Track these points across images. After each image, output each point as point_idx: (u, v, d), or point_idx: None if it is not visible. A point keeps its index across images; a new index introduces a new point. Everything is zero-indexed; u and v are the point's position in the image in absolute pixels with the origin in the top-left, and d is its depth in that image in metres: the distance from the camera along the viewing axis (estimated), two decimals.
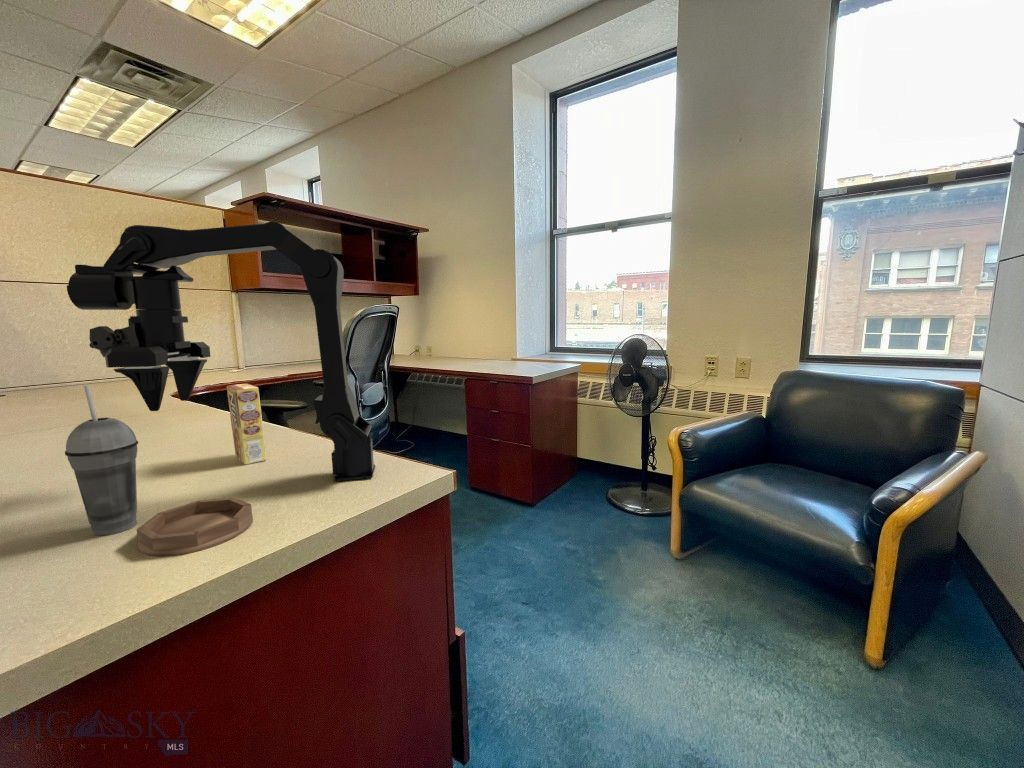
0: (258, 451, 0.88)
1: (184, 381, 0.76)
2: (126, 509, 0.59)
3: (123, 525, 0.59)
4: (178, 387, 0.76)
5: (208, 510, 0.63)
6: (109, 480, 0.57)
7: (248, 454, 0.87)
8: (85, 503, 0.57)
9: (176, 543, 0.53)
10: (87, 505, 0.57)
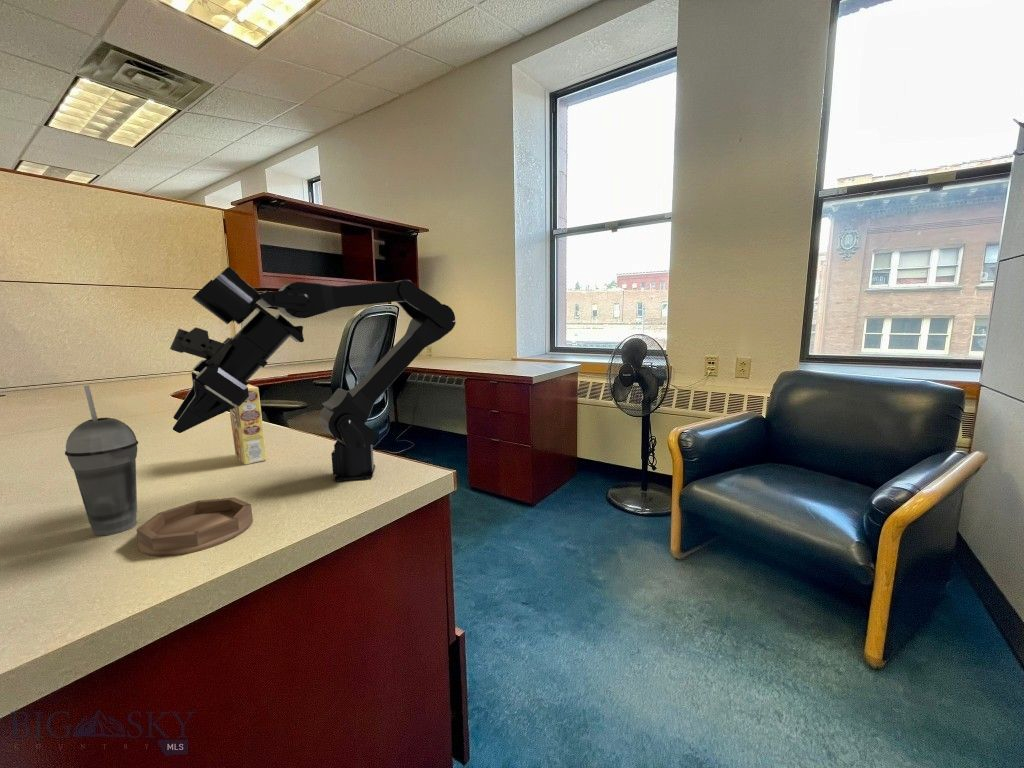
0: (258, 451, 0.88)
1: None
2: (126, 509, 0.59)
3: (123, 525, 0.59)
4: (184, 405, 0.67)
5: (208, 510, 0.63)
6: (109, 480, 0.57)
7: (248, 454, 0.87)
8: (85, 503, 0.57)
9: (176, 543, 0.53)
10: (87, 505, 0.57)
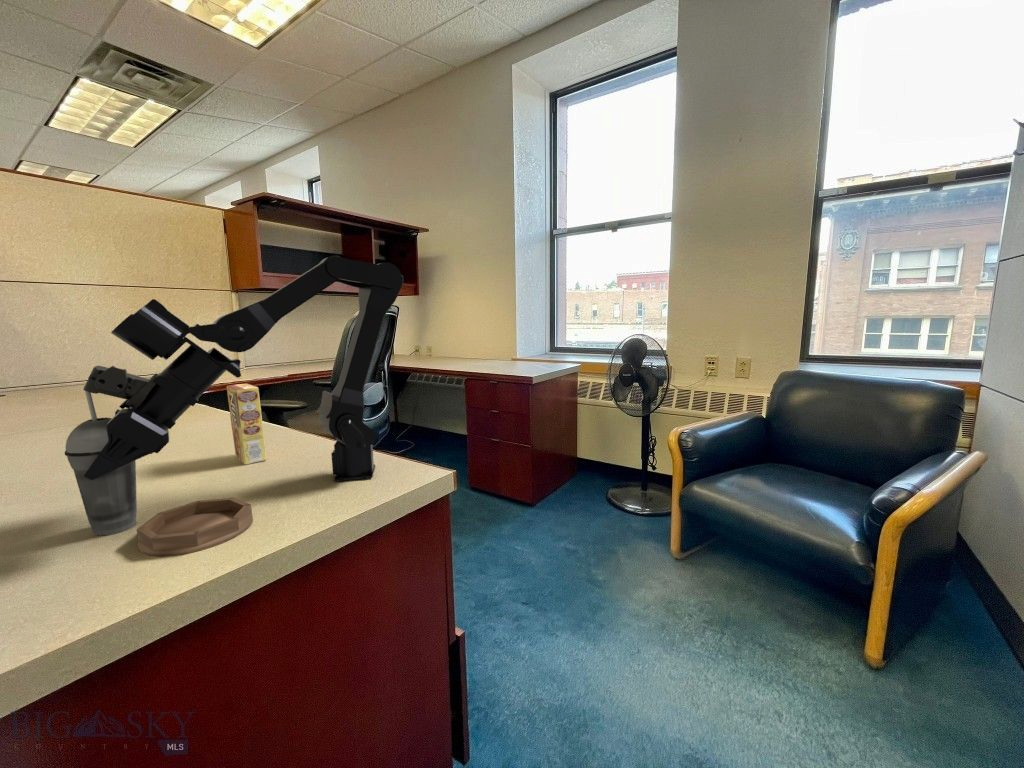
0: (258, 451, 0.88)
1: None
2: (126, 509, 0.59)
3: (123, 525, 0.59)
4: None
5: (208, 510, 0.63)
6: (109, 480, 0.57)
7: (248, 454, 0.87)
8: (85, 503, 0.57)
9: (176, 543, 0.53)
10: (87, 505, 0.57)
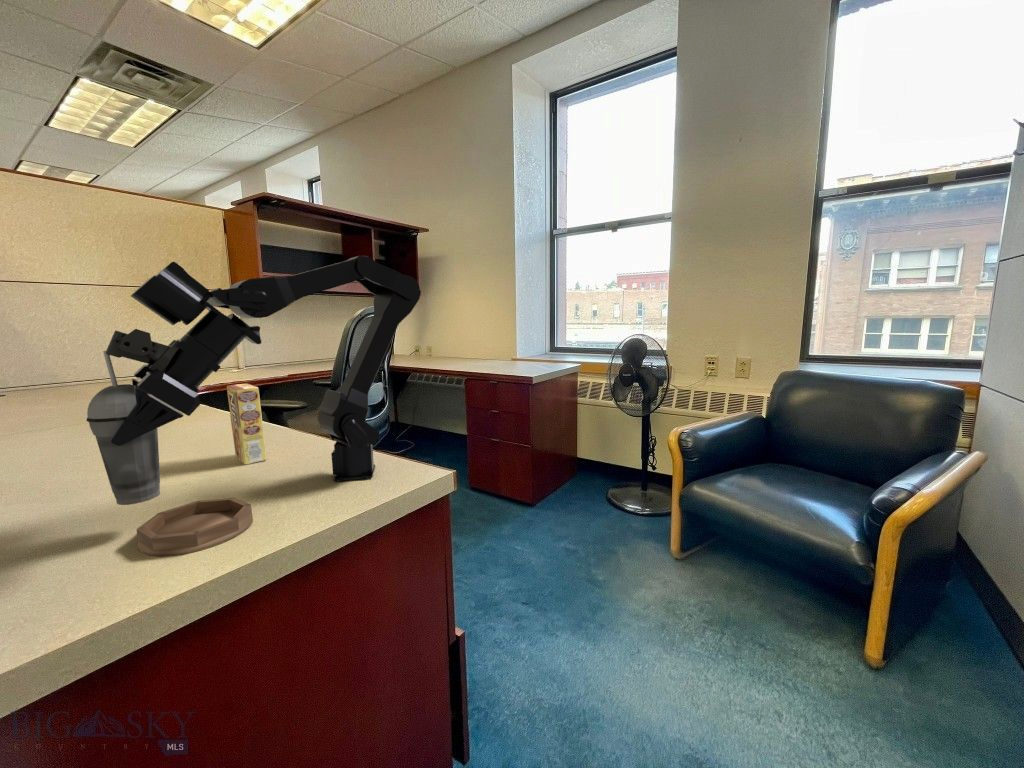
0: (258, 451, 0.88)
1: None
2: (151, 477, 0.58)
3: (149, 494, 0.58)
4: None
5: (208, 510, 0.63)
6: (135, 447, 0.56)
7: (248, 454, 0.87)
8: (109, 471, 0.56)
9: (176, 543, 0.53)
10: (111, 473, 0.56)
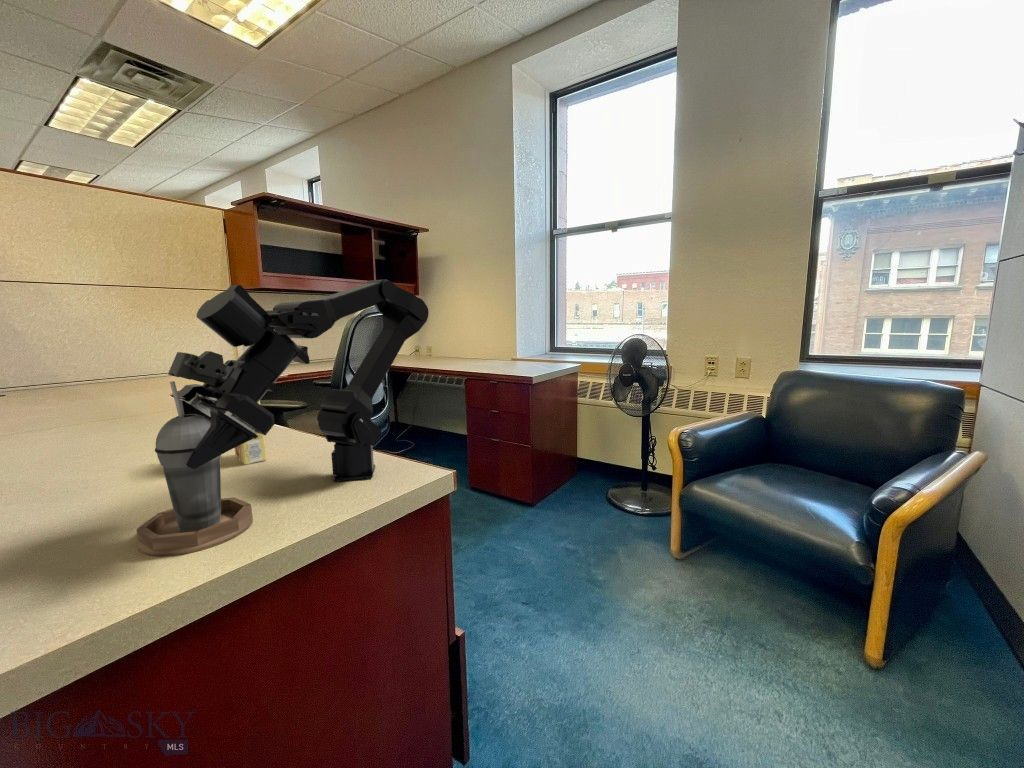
0: (258, 451, 0.88)
1: None
2: (217, 505, 0.59)
3: (214, 522, 0.58)
4: None
5: None
6: (206, 476, 0.56)
7: (248, 454, 0.87)
8: (179, 502, 0.56)
9: (176, 543, 0.53)
10: (181, 504, 0.56)
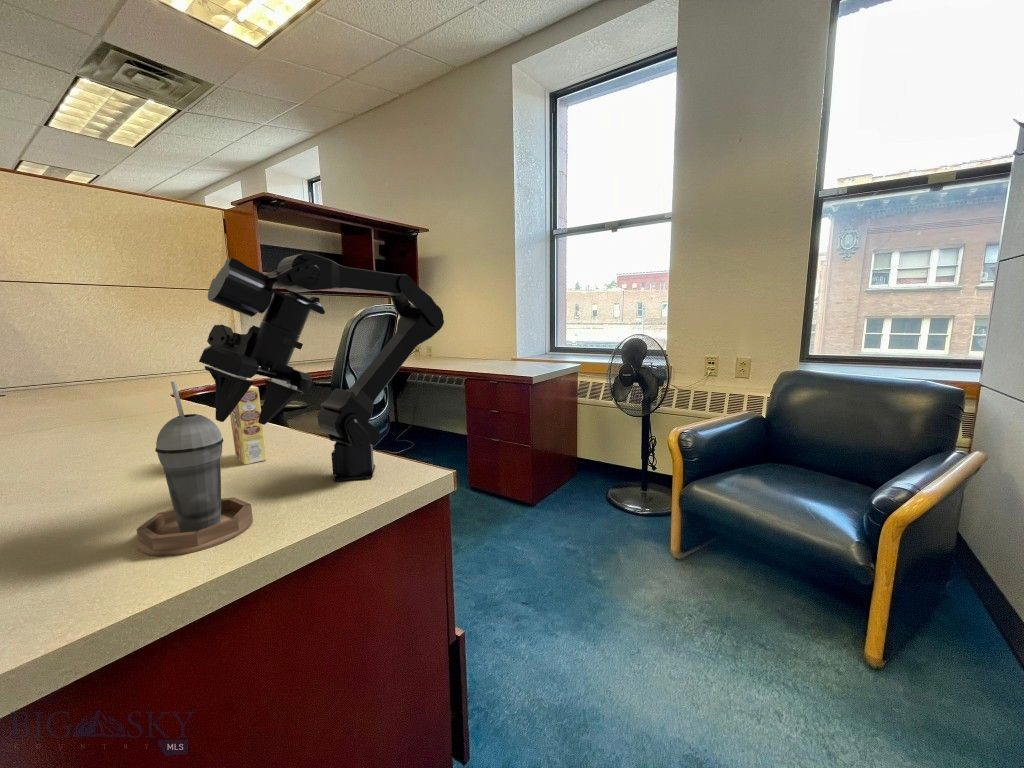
0: (258, 451, 0.88)
1: (271, 405, 0.72)
2: (217, 506, 0.59)
3: (215, 522, 0.58)
4: (263, 408, 0.72)
5: None
6: (206, 476, 0.56)
7: (248, 454, 0.87)
8: (179, 502, 0.56)
9: (176, 543, 0.53)
10: (181, 504, 0.56)
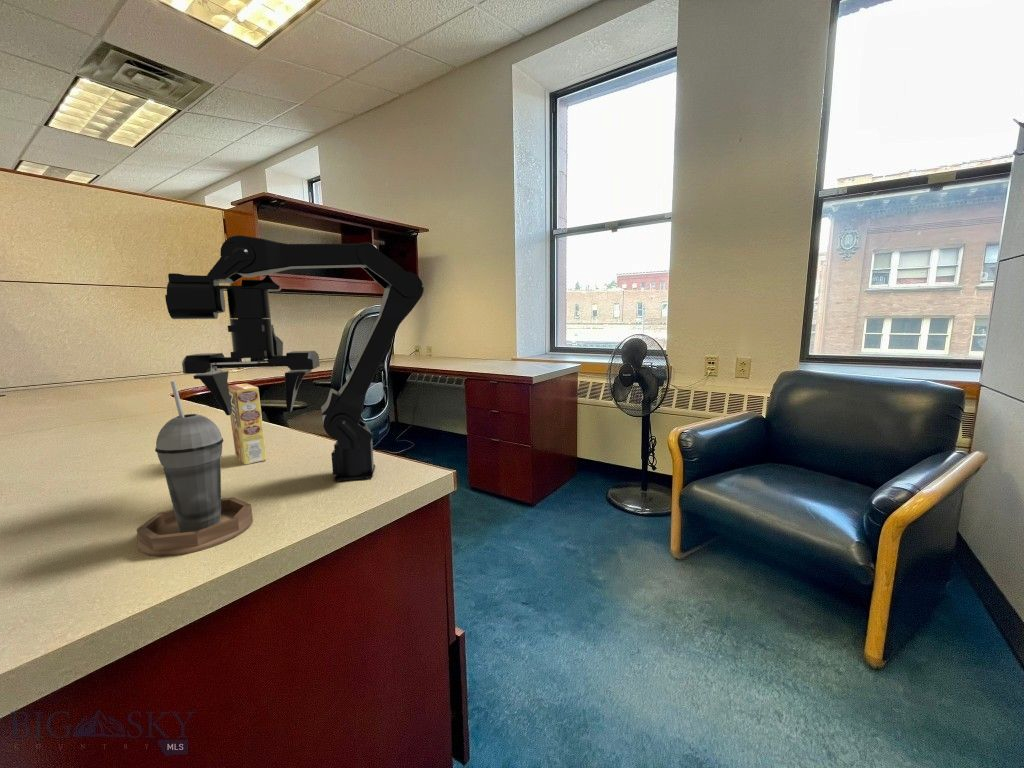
0: (258, 451, 0.88)
1: None
2: (217, 506, 0.59)
3: (215, 522, 0.58)
4: None
5: None
6: (206, 476, 0.56)
7: (248, 454, 0.87)
8: (179, 502, 0.56)
9: (176, 543, 0.53)
10: (181, 504, 0.56)
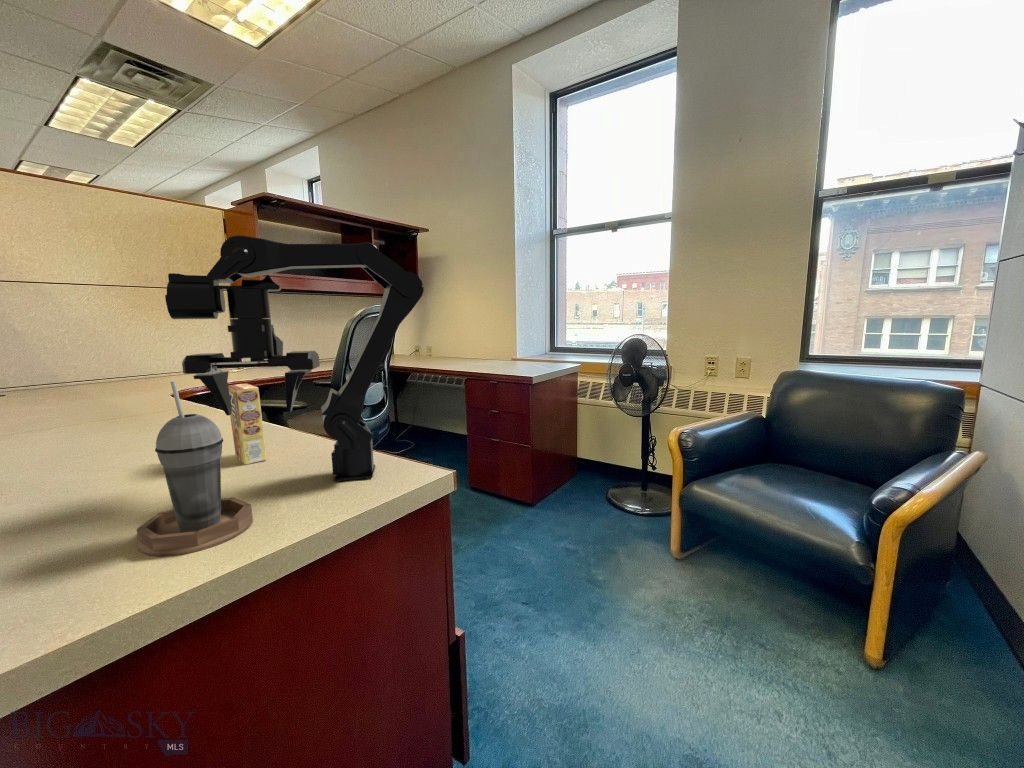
0: (258, 451, 0.88)
1: None
2: (217, 506, 0.59)
3: (214, 522, 0.58)
4: None
5: None
6: (206, 476, 0.56)
7: (248, 454, 0.87)
8: (179, 502, 0.56)
9: (176, 543, 0.53)
10: (181, 504, 0.56)
